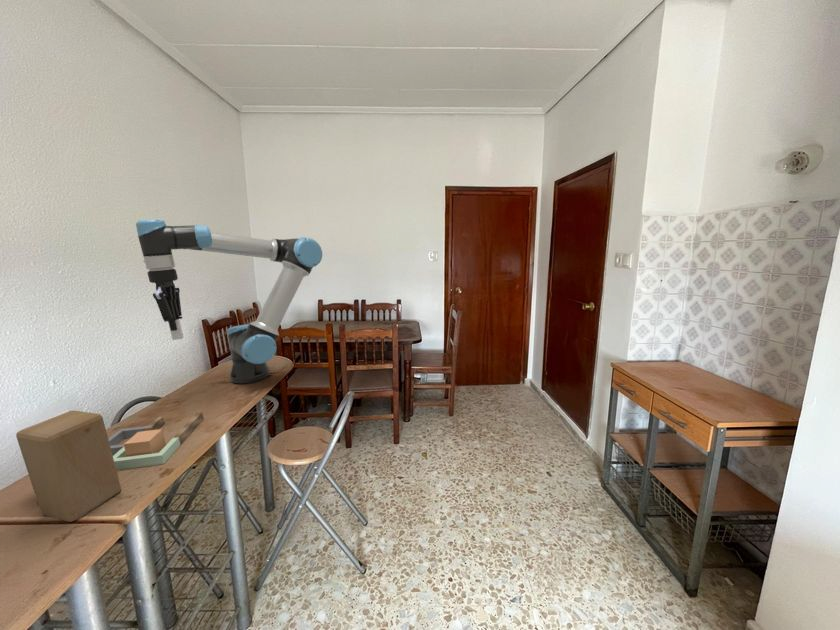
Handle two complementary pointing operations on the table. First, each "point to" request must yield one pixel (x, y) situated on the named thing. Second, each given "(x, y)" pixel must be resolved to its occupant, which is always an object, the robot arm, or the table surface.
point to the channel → (184, 431)
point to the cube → (145, 443)
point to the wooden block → (69, 464)
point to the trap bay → (122, 437)
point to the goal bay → (145, 457)
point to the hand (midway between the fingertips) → (178, 338)
